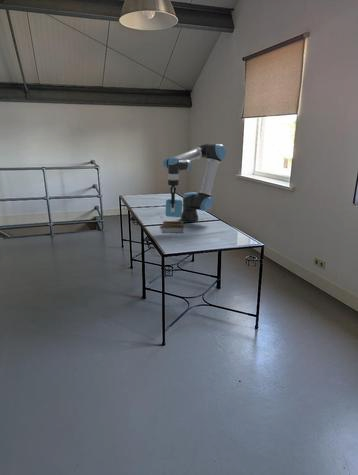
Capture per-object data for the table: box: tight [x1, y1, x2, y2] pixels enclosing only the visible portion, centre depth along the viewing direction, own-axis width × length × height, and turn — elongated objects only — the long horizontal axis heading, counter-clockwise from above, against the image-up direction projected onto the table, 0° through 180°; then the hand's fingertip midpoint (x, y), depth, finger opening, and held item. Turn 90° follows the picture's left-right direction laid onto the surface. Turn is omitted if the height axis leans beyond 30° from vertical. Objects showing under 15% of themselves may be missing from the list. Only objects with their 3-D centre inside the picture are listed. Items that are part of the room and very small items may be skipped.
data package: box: [165, 198, 183, 218], centre depth 243 cm, size 12×4×12 cm, turn 91°
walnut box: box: [161, 220, 184, 229], centre depth 260 cm, size 9×16×3 cm, turn 91°
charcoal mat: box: [161, 227, 184, 234], centre depth 249 cm, size 11×16×1 cm
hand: (172, 211), depth 244 cm, fingers closed on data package, 4 cm apart
